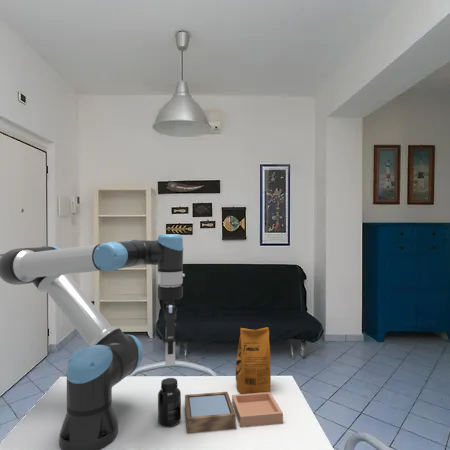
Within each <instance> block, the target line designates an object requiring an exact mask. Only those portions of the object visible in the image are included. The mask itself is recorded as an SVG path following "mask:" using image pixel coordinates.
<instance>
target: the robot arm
mask: <svg viewBox="0 0 450 450" xmlns="http://www.w3.org/2000/svg"><path fill="white" fill-rule="evenodd" d="M183 241H184V240H183V236H182V235H181V234H179V233H173V234H172V233H171V234H168V233H164V234H163V233H161V234H158V235H157V240H145V239H141V240H140V239H130V240H129V239H128V240H125V241H107V242H104V243H96V244H90V245H81V246H72V247H66V248H60V247H58V246H51V245H43V246H41V247H40V246H39V247H21V248H14V249H11V250H9V251H7V252H5V253H4V254H2V255H1V256H0V279H2V280H3V281H4V282H5V283H7V284H9V285H14V286H15V285H17V286H18V285H19V286H21V285H26V284H32V283H33V285H34V286H35V287H36V288H37V289H38V291H39V292H44V293H47V294H48V295H49V296H50V298H51V300H52V301H53V302H54V303H55V305H56V306H57V307H58V308H59V309H60V310H61V312H62V313H63V314H64V316H66V317H65V318H67V319H68V321H69V322H70V323H71V325H72V326H73V327H74V328H75V330H76V331H77V332H78V334H79V335H80V336H81V337H82V338H83V340H84V341H85V343H87V345H88V347H87V346H85V347H82V348H80V349H78V350H77V351H75V352H74V353H72V355H71V356H70V357H69V358H68V361H67V369H66V372H65V373H66V376H65V377H66V414H65V417H64V420H63V422H62V425H61V429H60V431H59V438H58V440H59V447H60V448H61V450H101V449H103V448H105V447H106V446H108V445H109V444H111V443H112V442H113V441H114V440H115V439H116V437H117V435H118V432H119V424H118V423H119V421H118V419H117V418H118V417H117V416H116V413H115V410H114V407H113V403H112V401H113V400H112V395H113V393H112V392H113V391H112V390H113V388H114V387H115V386H116V385H117V384H118V383H120V382H121V381H122V380H124V379H125V378H126V377H127V376H130V375H132V374H133V372H135V371H136V370H137V369H138V368H139V366H140V365H141V363H142V360H143V358H144V357H143V355H144V350H143V346H142V343H141V341H140V340H139V338H138V337H136V336H134V335H133V334H125V333H124V332H123V330H122V329H121V328H120V327H113V326H112V325H111V324H110V323H109V322H108V320H107V319H106V318H105V317H104V316H103V314H102V313H101V311H100V310H98V308H97V307H96V306H95V304H94V303H93V302H92V301H91V300H90V298H89V297H88V296H87V294H85V292H84V291H83V290H82V289H81V288H80V286H79V285H78V284H77V283H76V281H75V280H74V278H72V276H71V275H72V274H73V275H74V274H80V273H81V274H83V273H90V272H101V271H103V272H104V271H105V272H114V271H117V270H120V269H124V268H125V269H126V268H131V267H136V266H141V265H143V266H144V265H146V266H147V265H149V266H152V265H153V266H157V284H158V286H157V298H158V299H159V300H162V301H165V303H163V313H164V314H163V315H164V320H165V339H163V341H162V343H163V344H164V343H165V346H164V347H165V352H164V354H165V360H164V361H165V362H164V363H165V364H164V365H165V366H174V365H176V326H177V322H176V320H177V310H178V303H176V302H175V300H176V301H177V300H181V299H182V298H183V296H184V286H183V285H182V284H183V282H184V281H183V280H184V279H183V278H184V277H186V274H185V273H183V272H184V267H183V266H184V263H183V262H184V244H183V243H184V242H183Z"/></svg>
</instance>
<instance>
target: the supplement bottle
mask: <svg viewBox="0 0 450 450" xmlns="http://www.w3.org/2000/svg"><path fill="white" fill-rule="evenodd" d="M160 383H161V384H160V385H161V386H160V390H159V391H158V394H157V421H158V424H159V425H160V426H162V427H166V428H167V427H169V428H170V427H174V426H176V425H179V423H181V420H182V401H181V400H182V393H181V390H180V388H179V387H178V386H179V385H178V379H177V378H175V377H167V378H164V379H162V380H161V382H160Z"/></svg>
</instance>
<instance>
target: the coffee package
mask: <svg viewBox="0 0 450 450" xmlns="http://www.w3.org/2000/svg"><path fill="white" fill-rule="evenodd" d="M239 333H240V336H239V340H238V347H237V357H236V362H235V383H236V386H237V387H236V388H237V391H238V393H239V394H252V393H264V392H270V393H271V380H272V379H271V377H272V376H271V345H270V329H269V327H262V328H258V329H257V328H256V329H249V328H245V327H244V328H243V327H240V331H239Z"/></svg>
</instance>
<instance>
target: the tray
mask: <svg viewBox="0 0 450 450" xmlns="http://www.w3.org/2000/svg"><path fill="white" fill-rule="evenodd" d="M231 403H232V406H233V409H234V411H235V414H236V420H237V421H238V423H239V424H238V425H239V427H240V428H245V427H246V428H247V427H248V428H249V427H256V426H267V425H279V424H283V423H284V412H283V411H282V409H281V407H280V406H279V404H278V403H277V401H276V400H275V398H274V396H273V394H272V393H271V391H270V392H264V393H247V394H240V393H239V394H232V395H231Z"/></svg>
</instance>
